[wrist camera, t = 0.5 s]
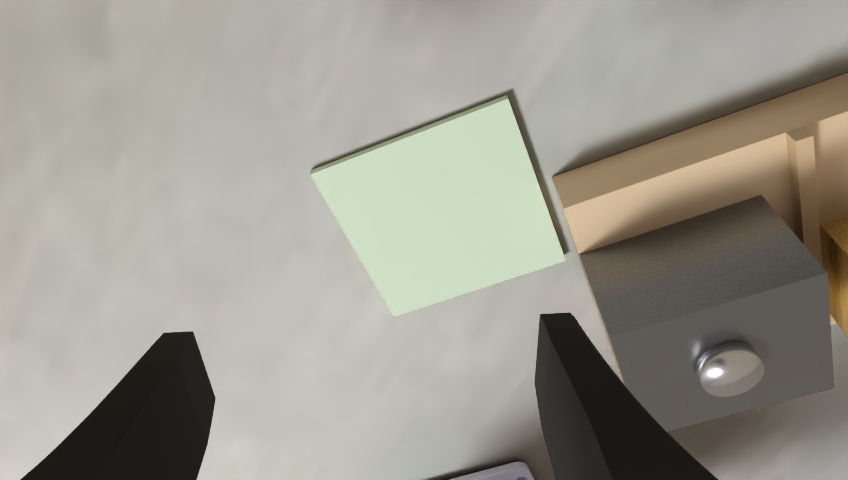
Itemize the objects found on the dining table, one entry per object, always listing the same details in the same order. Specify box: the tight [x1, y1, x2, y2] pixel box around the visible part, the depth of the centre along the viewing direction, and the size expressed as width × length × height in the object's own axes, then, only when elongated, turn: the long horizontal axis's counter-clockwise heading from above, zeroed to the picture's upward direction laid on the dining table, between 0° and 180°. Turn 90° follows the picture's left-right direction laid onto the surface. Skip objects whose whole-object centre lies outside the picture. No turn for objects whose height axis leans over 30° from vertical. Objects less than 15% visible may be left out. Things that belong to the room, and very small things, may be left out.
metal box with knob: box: [579, 195, 834, 432], centre depth 21 cm, size 5×6×4 cm
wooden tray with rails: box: [552, 73, 848, 382], centre depth 23 cm, size 9×12×3 cm
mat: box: [310, 95, 566, 317], centre depth 23 cm, size 7×7×1 cm
